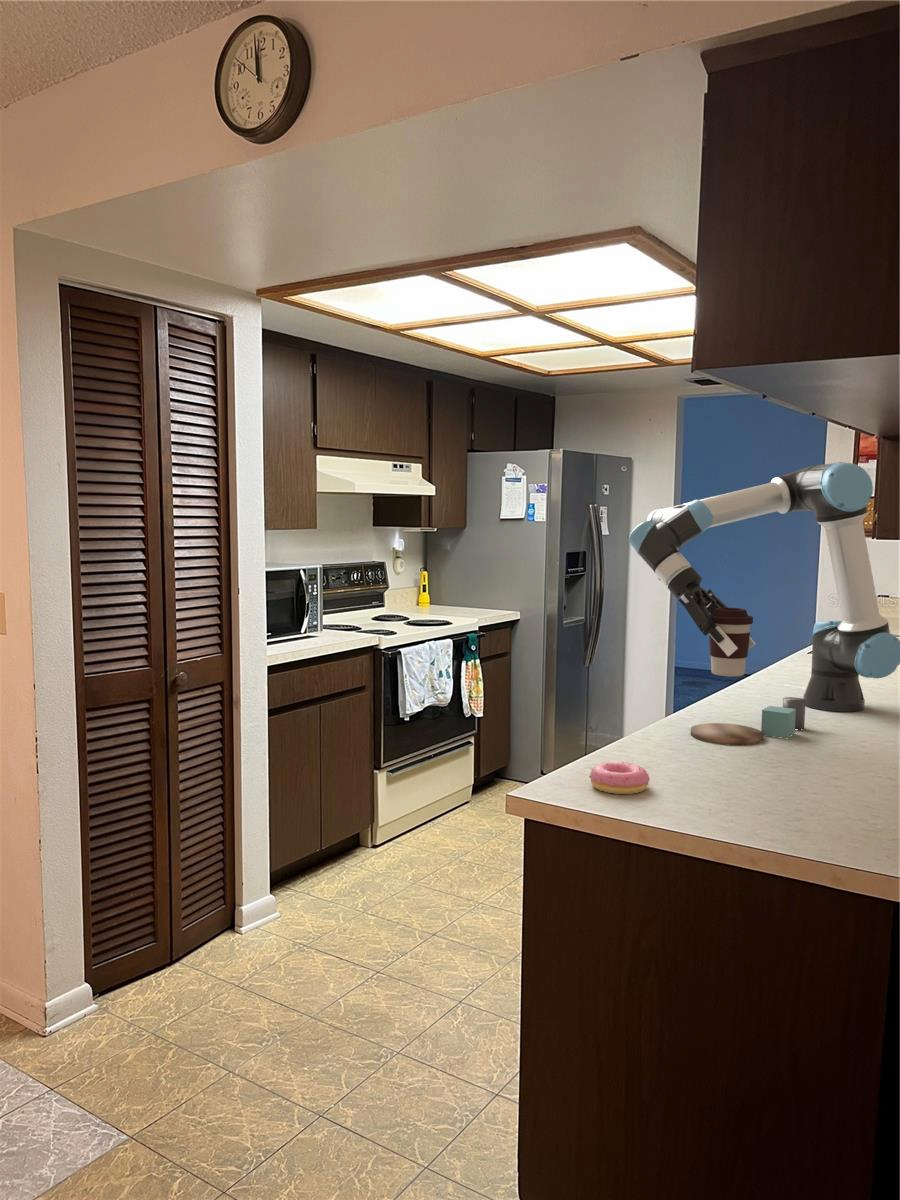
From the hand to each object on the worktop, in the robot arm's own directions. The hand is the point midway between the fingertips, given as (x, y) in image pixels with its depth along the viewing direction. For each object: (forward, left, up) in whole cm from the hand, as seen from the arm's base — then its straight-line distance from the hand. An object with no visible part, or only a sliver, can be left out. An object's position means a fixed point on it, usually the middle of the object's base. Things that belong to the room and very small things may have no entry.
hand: (742, 649), depth 204 cm
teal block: (-11, -2, -20) cm, 23 cm away
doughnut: (+42, +30, -21) cm, 55 cm away
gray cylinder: (-18, -7, -20) cm, 28 cm away
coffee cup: (+2, -3, -6) cm, 7 cm away
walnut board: (+2, -2, -20) cm, 20 cm away
